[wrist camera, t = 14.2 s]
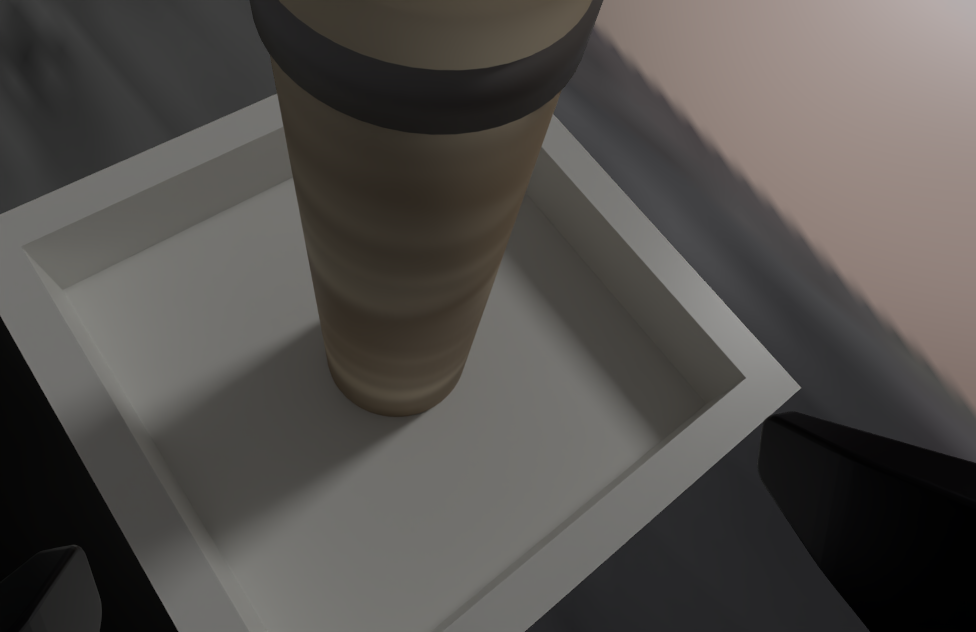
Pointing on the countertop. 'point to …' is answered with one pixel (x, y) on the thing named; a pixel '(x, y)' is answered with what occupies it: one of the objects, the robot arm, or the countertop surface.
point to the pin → (413, 168)
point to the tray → (350, 429)
